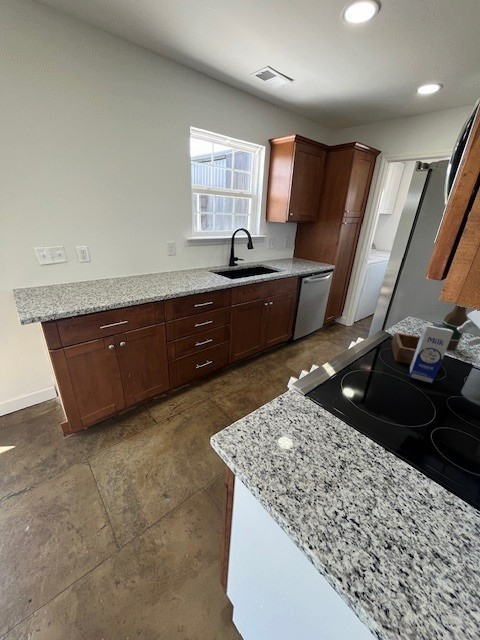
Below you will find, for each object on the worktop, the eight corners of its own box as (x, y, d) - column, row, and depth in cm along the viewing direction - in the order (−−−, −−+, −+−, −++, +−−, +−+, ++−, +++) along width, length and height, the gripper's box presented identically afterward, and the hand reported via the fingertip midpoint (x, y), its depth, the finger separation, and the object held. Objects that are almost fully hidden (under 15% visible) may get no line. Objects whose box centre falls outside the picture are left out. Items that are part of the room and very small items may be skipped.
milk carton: (409, 377, 93) (427, 325, 85) (408, 367, 98) (425, 318, 90) (433, 383, 90) (454, 331, 82) (431, 374, 95) (451, 323, 87)
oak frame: (429, 351, 110) (434, 338, 108) (439, 369, 98) (444, 356, 95) (391, 344, 115) (394, 332, 112) (395, 361, 102) (399, 347, 100)
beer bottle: (457, 352, 110) (480, 297, 101) (435, 346, 114) (455, 293, 104) (455, 344, 116) (477, 292, 107) (434, 340, 120) (453, 289, 110)
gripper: (493, 295, 87) (447, 317, 94) (528, 318, 69) (468, 343, 77) (504, 310, 87) (458, 331, 94) (541, 336, 70) (481, 359, 77)
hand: (463, 336), depth 85 cm, fingers open, 8 cm apart
